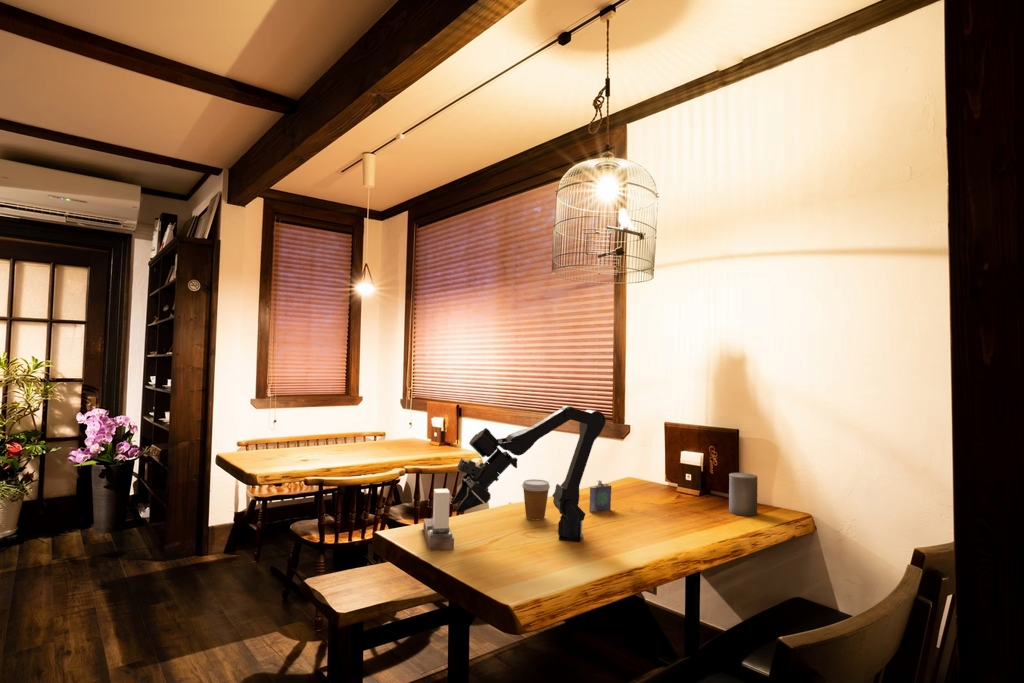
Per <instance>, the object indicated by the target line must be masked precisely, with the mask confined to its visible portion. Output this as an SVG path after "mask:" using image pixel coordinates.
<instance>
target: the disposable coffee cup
mask: <svg viewBox="0 0 1024 683" xmlns="http://www.w3.org/2000/svg"><path fill="white" fill-rule="evenodd" d="M521 487H522V489H523V490H522V491H523V499H524V500H523V501H524V508H525V518H526V517H527V518H530V519H542V520H544V519H545V518H544V517H545V516H546V509H547V505H548V497H549V496H548V495H549V490H550V488H551V485H550V481H547V480H543V479H533V478H532V479H525V480H523V484H522V485H521ZM527 518H526V519H527ZM543 518H544V519H543ZM530 519H529V520H530Z"/></svg>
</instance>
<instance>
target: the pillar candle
mask: <svg viewBox="0 0 1024 683" xmlns="http://www.w3.org/2000/svg"><path fill="white" fill-rule="evenodd" d="M728 476H729V477H728V478H729V481H728V482H729V483H728V484H729V485H728V486H729V487H728V488H729V489H728V495H729V496H728V512H729V513H730V514H733V515H737V516H743V517H745V516H746V517H755V516H758V475H756V474H752V473H745V471H743V472H731V473H729V474H728Z"/></svg>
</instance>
